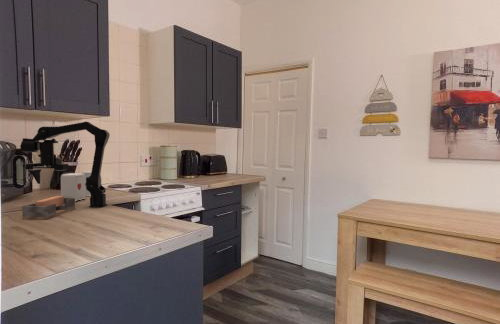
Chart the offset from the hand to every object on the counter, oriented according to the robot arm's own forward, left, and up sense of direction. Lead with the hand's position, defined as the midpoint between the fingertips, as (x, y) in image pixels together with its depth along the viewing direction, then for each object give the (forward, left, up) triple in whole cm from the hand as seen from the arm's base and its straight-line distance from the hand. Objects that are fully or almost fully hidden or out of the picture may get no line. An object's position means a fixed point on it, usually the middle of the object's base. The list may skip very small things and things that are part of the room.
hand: (48, 183), depth 153 cm
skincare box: (-2, -34, -12) cm, 36 cm away
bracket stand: (-9, +12, -12) cm, 19 cm away
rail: (-9, +12, -9) cm, 17 cm away
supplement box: (-1, -19, -12) cm, 23 cm away
